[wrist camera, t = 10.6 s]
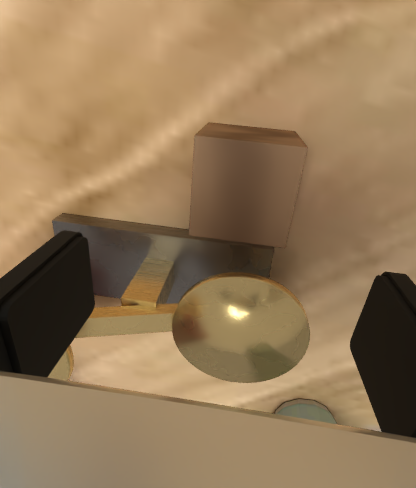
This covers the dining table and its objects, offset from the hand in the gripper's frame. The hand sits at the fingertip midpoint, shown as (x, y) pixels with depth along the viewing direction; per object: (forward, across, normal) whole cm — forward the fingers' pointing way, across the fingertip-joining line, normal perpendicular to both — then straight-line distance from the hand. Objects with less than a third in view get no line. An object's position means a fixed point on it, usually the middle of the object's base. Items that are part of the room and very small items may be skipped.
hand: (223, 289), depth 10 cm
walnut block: (+15, 0, 0) cm, 15 cm away
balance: (+15, +6, +9) cm, 18 cm away
